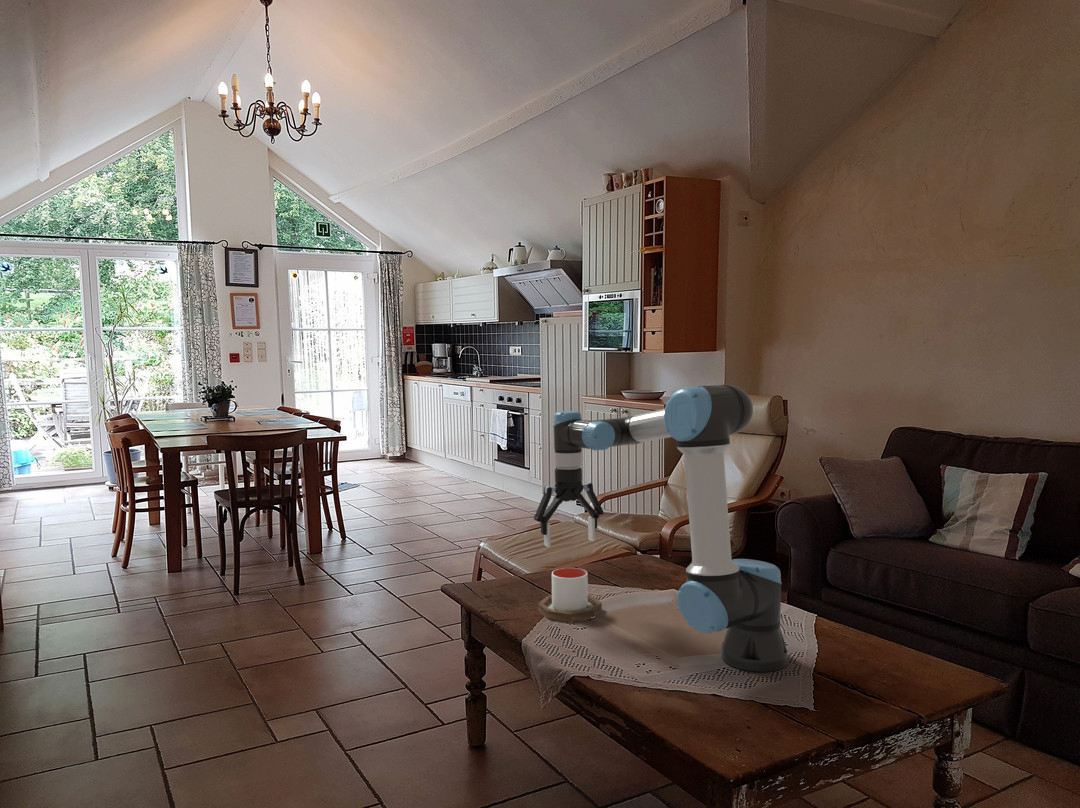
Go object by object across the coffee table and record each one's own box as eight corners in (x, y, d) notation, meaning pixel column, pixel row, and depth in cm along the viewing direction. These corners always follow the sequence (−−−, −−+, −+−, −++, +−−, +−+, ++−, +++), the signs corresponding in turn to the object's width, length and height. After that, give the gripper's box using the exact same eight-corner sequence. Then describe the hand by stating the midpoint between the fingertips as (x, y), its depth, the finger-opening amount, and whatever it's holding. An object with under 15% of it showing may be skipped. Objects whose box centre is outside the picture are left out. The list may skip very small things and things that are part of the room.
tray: (609, 615, 209) (609, 607, 209) (555, 624, 203) (555, 616, 203) (583, 597, 224) (583, 590, 224) (531, 606, 218) (531, 598, 218)
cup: (588, 614, 208) (588, 578, 208) (551, 614, 209) (551, 578, 208) (587, 601, 218) (586, 567, 218) (552, 602, 219) (551, 567, 218)
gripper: (602, 462, 219) (603, 535, 220) (521, 469, 209) (523, 545, 210) (614, 465, 212) (615, 540, 213) (531, 472, 202) (533, 551, 204)
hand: (569, 543), depth 212 cm, fingers open, 13 cm apart
